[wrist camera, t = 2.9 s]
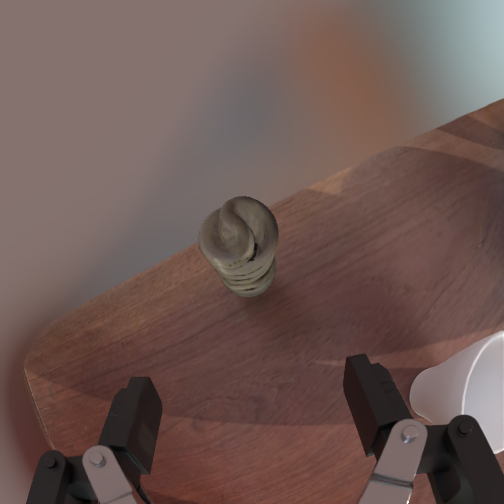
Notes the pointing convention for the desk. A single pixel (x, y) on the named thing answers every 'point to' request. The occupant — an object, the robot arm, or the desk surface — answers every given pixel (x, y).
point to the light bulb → (241, 245)
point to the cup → (466, 389)
